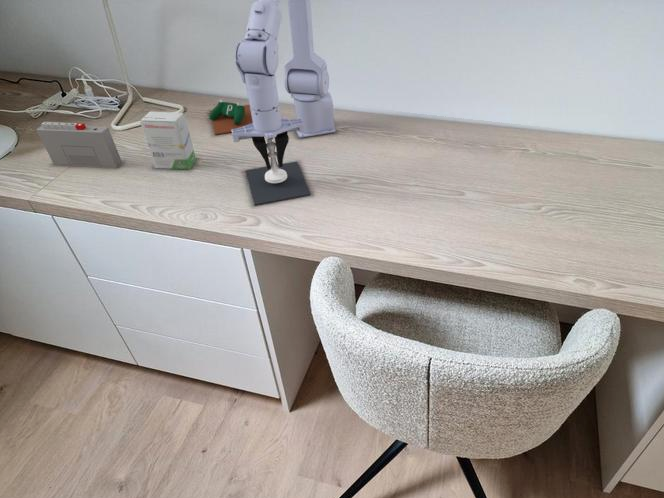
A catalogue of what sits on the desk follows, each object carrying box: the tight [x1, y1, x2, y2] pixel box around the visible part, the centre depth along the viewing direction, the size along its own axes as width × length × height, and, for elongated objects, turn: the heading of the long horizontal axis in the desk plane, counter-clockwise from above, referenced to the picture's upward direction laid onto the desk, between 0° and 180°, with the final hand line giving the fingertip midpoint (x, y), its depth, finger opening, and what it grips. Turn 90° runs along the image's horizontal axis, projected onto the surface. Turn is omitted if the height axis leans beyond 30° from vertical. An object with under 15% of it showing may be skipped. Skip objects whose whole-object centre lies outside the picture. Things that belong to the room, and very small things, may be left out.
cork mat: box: [209, 104, 253, 136], centre depth 131 cm, size 12×14×1 cm
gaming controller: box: [209, 98, 245, 125], centre depth 130 cm, size 9×4×6 cm
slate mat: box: [244, 161, 312, 207], centre depth 109 cm, size 12×14×1 cm
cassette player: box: [35, 121, 123, 169], centre depth 113 cm, size 16×3×10 cm, turn 83°
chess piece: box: [265, 138, 287, 183], centre depth 104 cm, size 5×5×10 cm
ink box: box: [139, 110, 197, 170], centre depth 112 cm, size 9×5×12 cm, turn 84°
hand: (274, 165), depth 106 cm, fingers closed on chess piece
